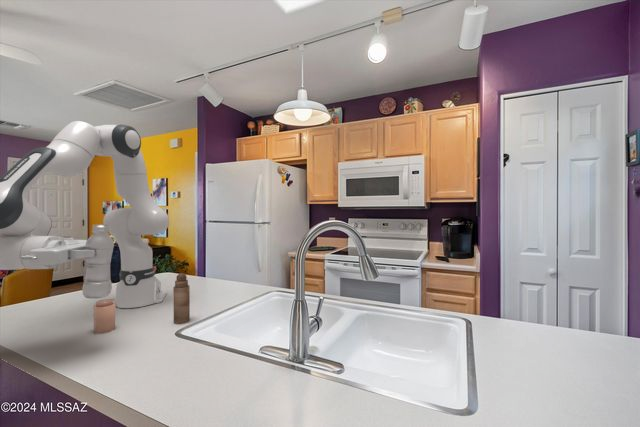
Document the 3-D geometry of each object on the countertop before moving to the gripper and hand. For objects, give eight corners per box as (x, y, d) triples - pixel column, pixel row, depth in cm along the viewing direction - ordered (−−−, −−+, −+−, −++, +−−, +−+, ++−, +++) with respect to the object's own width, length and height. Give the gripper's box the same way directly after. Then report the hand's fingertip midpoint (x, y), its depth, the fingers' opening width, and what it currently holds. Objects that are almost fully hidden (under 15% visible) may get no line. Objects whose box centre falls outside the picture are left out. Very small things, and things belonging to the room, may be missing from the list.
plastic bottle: (94, 302, 78) (99, 226, 78) (75, 299, 80) (79, 224, 80) (117, 296, 85) (121, 225, 84) (98, 293, 86) (102, 224, 86)
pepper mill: (176, 319, 105) (176, 271, 105) (191, 318, 106) (191, 271, 105) (171, 324, 100) (171, 274, 100) (187, 323, 101) (187, 274, 100)
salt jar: (100, 327, 98) (99, 299, 98) (118, 326, 99) (118, 298, 99) (89, 334, 92) (89, 304, 92) (109, 332, 93) (109, 303, 93)
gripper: (12, 245, 70) (78, 244, 72) (71, 237, 90) (121, 236, 92) (13, 272, 70) (78, 270, 72) (71, 257, 90) (121, 257, 92)
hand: (103, 251), depth 82 cm, fingers closed on plastic bottle, 6 cm apart
